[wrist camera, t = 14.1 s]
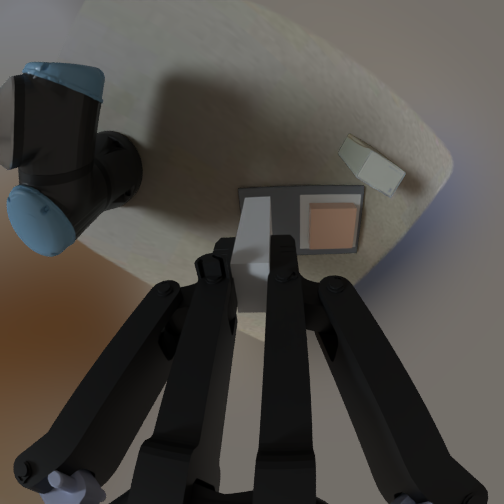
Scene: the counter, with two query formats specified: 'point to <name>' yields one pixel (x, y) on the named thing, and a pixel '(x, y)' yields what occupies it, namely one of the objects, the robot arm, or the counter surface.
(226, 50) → the counter surface
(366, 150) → the skincare box
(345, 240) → the tile
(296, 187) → the mat
